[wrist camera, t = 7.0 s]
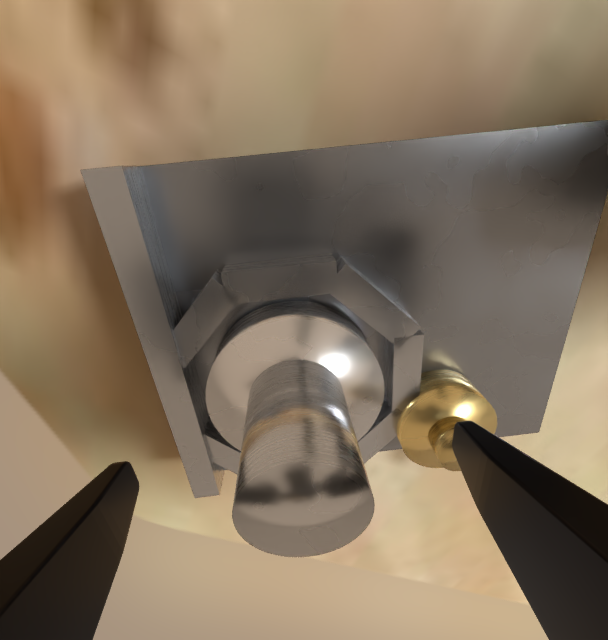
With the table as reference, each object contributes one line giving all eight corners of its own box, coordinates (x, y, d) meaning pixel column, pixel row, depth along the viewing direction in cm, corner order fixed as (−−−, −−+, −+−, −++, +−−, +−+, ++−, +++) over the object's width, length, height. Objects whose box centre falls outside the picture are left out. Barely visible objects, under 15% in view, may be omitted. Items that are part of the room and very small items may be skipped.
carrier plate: (598, 122, 10) (741, 100, 7) (523, 416, 15) (587, 481, 12) (120, 170, 10) (45, 170, 7) (206, 454, 15) (186, 530, 12)
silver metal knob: (373, 291, 11) (448, 391, 6) (373, 425, 14) (426, 573, 9) (197, 311, 11) (127, 428, 6) (230, 442, 13) (201, 601, 9)
